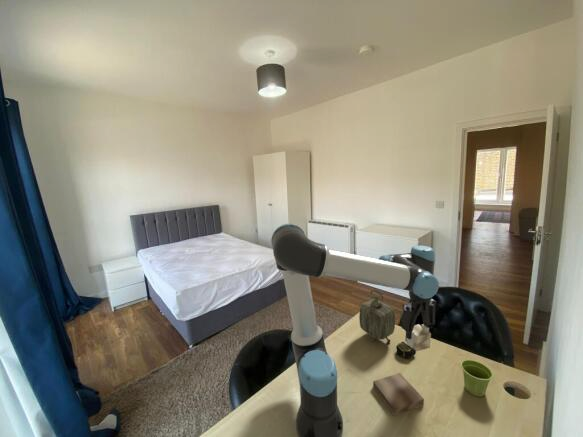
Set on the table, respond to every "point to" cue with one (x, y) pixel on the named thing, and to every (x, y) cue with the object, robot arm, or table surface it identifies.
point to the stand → (398, 394)
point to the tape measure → (405, 350)
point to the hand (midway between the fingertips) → (417, 343)
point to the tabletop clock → (377, 318)
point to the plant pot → (476, 377)
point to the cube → (420, 338)
